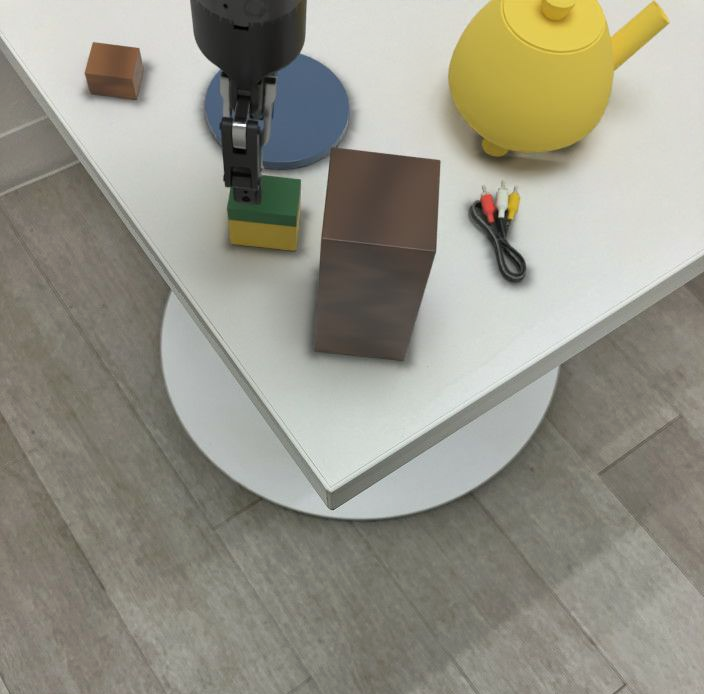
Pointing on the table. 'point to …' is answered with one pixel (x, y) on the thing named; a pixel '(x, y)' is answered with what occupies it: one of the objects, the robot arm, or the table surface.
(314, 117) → the plate
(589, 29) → the teapot
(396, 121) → the table surface
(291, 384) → the table surface
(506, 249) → the composite cable
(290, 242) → the sponge
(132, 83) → the brown square block
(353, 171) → the tall dark wooden block
